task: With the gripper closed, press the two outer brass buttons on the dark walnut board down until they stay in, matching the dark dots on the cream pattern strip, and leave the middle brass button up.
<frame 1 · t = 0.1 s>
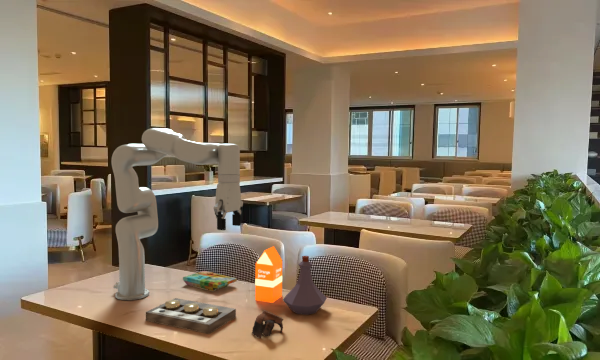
hand: (229, 227, 165), 31 cm above the table, tool pointing down, fingers open, 9 cm apart
button board: (191, 318, 162), on the table
button 1: (172, 305, 165), point 4 cm above the table, slide at 0.0 cm
button middle: (191, 308, 162), point 3 cm above the table, slide at 0.0 cm
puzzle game: (209, 287, 200), on the table
button 2: (210, 312, 159), point 4 cm above the table, slide at 0.0 cm
flask: (304, 310, 172), on the table
brown goggles: (267, 335, 150), on the table
orange juice: (268, 298, 185), on the table
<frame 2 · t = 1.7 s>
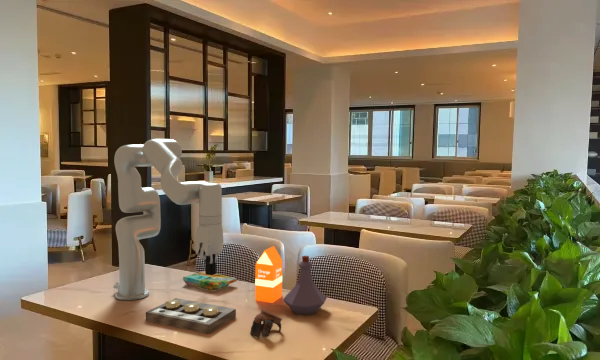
hand: (210, 274, 158), 17 cm above the table, tool pointing down, fingers closed
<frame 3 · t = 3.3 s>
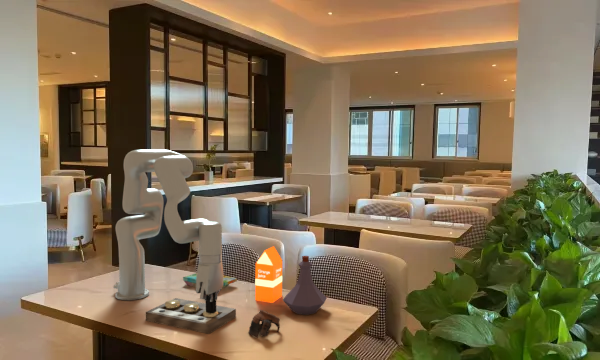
hand: (211, 311, 159), 4 cm above the table, tool pointing down, fingers closed
button 2: (210, 315, 159), point 3 cm above the table, slide at 0.9 cm, touching gripper
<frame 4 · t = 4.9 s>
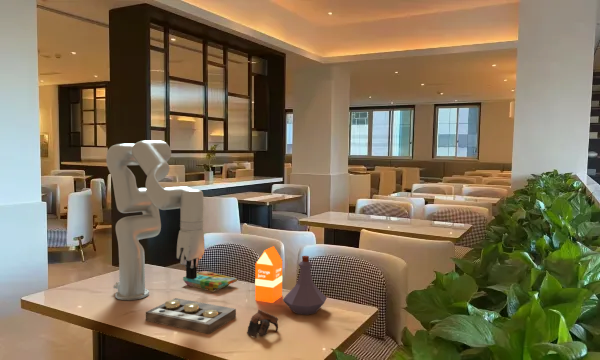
hand: (191, 278, 161), 14 cm above the table, tool pointing down, fingers closed
button 2: (210, 315, 159), point 3 cm above the table, slide at 1.0 cm
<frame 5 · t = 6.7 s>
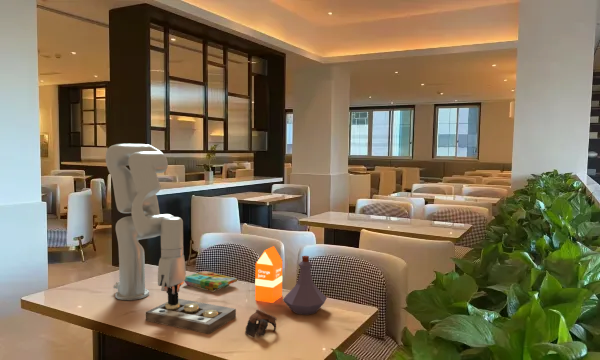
hand: (173, 303, 165), 4 cm above the table, tool pointing down, fingers closed
button 1: (172, 306, 165), point 3 cm above the table, slide at 0.5 cm, touching gripper
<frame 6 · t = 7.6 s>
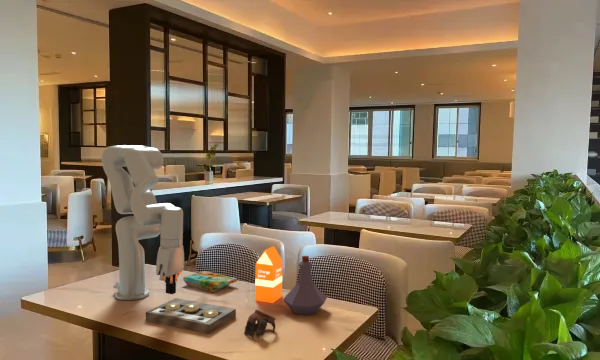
hand: (170, 292, 166), 8 cm above the table, tool pointing down, fingers closed
button 1: (172, 308, 165), point 2 cm above the table, slide at 1.0 cm
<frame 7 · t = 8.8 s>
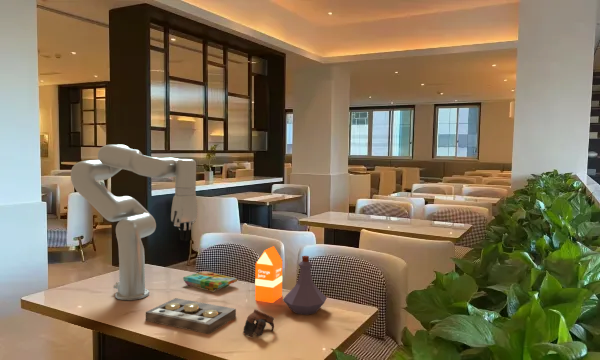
hand: (184, 239, 178), 24 cm above the table, tool pointing down, fingers closed
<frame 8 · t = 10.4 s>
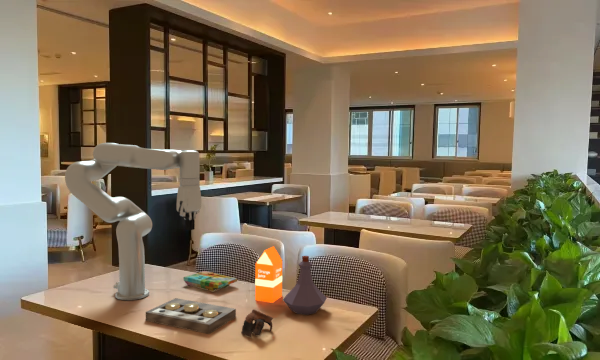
hand: (189, 229, 182), 27 cm above the table, tool pointing down, fingers closed
at the end: button 2 slide at 1.0 cm; button 1 slide at 1.0 cm; button middle slide at 0.0 cm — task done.
